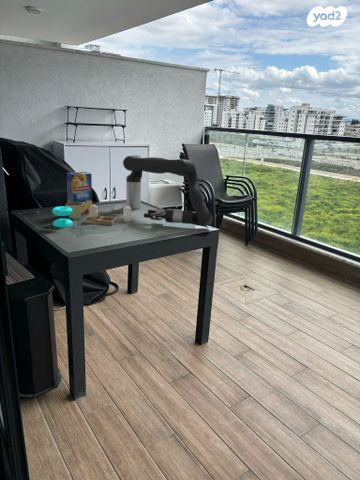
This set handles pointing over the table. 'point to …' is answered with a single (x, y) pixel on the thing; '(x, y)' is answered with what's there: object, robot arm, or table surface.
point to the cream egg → (127, 213)
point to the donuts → (62, 212)
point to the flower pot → (75, 209)
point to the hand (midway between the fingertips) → (146, 213)
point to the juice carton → (80, 189)
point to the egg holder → (101, 220)
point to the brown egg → (93, 212)
